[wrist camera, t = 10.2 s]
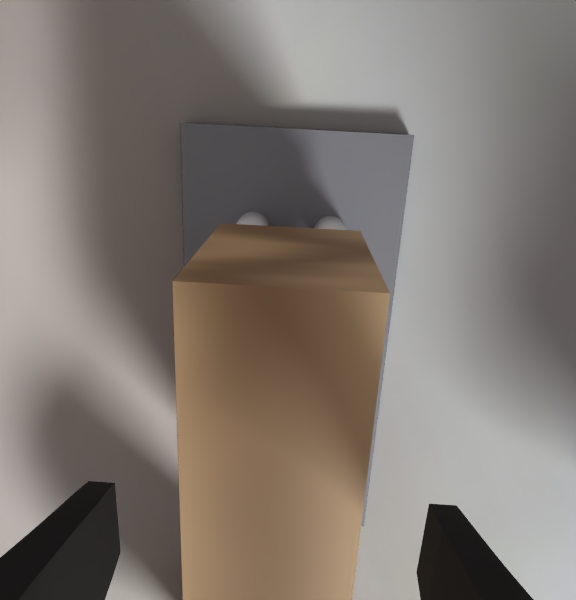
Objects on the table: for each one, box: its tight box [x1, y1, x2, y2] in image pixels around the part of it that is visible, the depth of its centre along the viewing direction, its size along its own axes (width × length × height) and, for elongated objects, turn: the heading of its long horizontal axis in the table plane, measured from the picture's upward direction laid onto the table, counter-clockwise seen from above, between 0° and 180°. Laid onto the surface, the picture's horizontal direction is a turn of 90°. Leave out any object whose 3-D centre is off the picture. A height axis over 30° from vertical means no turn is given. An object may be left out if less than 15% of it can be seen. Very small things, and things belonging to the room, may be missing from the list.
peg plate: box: [181, 123, 414, 526], centre depth 19 cm, size 8×17×3 cm, turn 177°
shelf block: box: [172, 223, 390, 600], centre depth 15 cm, size 4×12×6 cm, turn 177°
